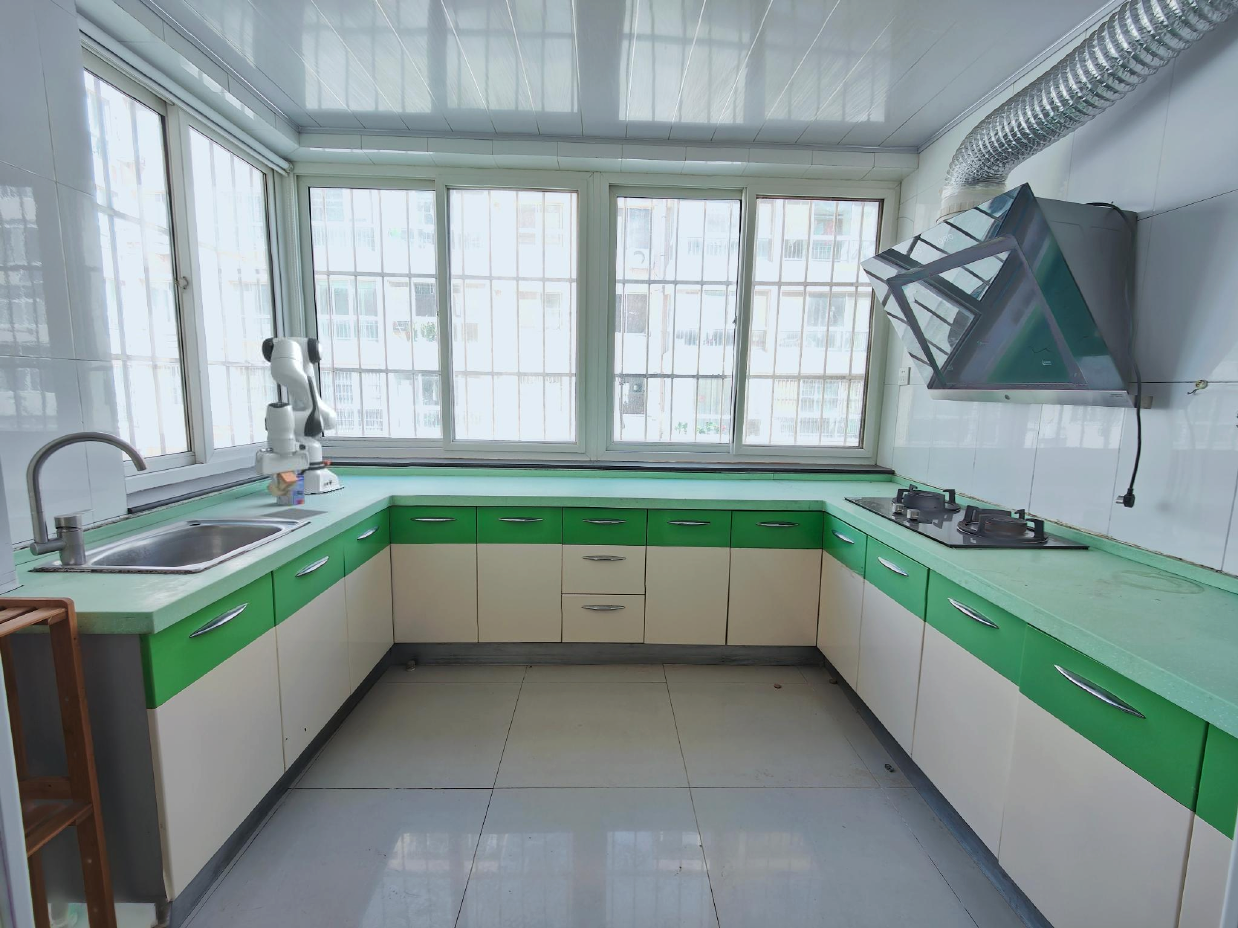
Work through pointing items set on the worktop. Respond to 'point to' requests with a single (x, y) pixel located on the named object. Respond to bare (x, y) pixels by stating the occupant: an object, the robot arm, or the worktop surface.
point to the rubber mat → (294, 513)
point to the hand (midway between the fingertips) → (284, 484)
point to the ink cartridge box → (294, 494)
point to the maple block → (283, 484)
